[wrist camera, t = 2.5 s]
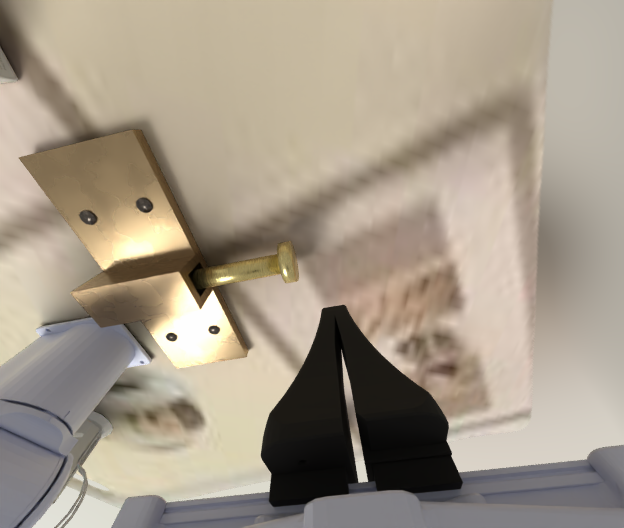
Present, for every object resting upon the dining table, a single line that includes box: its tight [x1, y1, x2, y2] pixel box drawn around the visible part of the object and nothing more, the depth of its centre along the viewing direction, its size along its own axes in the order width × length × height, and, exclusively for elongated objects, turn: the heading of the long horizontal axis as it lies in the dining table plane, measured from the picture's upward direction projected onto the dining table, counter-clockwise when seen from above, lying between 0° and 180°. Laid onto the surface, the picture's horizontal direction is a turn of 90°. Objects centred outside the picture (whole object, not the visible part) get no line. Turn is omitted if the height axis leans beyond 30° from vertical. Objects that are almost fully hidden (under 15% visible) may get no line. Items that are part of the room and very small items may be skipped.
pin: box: [188, 241, 299, 290], centre depth 20 cm, size 10×4×4 cm, turn 101°
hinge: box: [19, 130, 248, 368], centre depth 21 cm, size 10×24×4 cm, turn 11°
